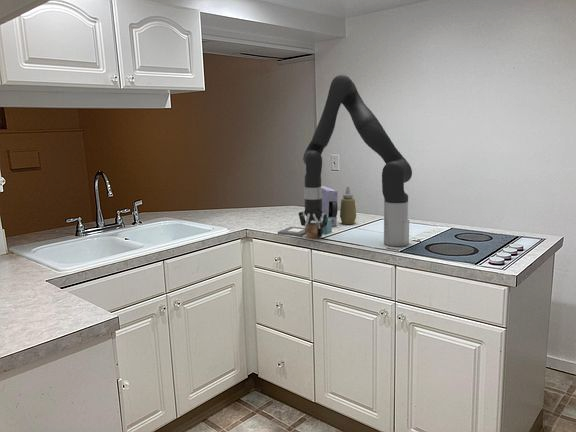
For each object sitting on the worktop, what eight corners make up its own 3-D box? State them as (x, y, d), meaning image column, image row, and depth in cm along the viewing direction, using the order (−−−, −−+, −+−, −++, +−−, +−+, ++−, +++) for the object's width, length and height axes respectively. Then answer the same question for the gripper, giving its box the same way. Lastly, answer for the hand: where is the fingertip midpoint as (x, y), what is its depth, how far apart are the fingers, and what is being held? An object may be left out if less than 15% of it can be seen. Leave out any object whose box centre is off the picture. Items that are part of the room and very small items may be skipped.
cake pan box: (338, 226, 221) (338, 190, 218) (328, 227, 220) (328, 190, 216) (323, 219, 239) (322, 185, 236) (314, 220, 238) (313, 186, 234)
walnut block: (321, 236, 203) (321, 223, 202) (316, 239, 199) (316, 225, 197) (311, 235, 205) (311, 222, 204) (306, 238, 201) (305, 224, 200)
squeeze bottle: (351, 225, 222) (351, 188, 219) (336, 224, 227) (336, 187, 223) (359, 222, 228) (359, 186, 225) (345, 221, 233) (344, 185, 230)
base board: (313, 230, 214) (313, 228, 214) (300, 236, 204) (300, 234, 204) (291, 228, 220) (291, 226, 220) (277, 233, 210) (277, 231, 210)
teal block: (331, 232, 211) (331, 219, 210) (326, 234, 207) (326, 221, 206) (321, 231, 214) (321, 218, 213) (316, 233, 209) (316, 220, 208)
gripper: (332, 197, 198) (332, 235, 201) (302, 195, 205) (303, 232, 209) (324, 199, 192) (324, 239, 195) (294, 197, 199) (295, 236, 202)
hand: (313, 235), depth 202 cm, fingers closed on walnut block, 5 cm apart
